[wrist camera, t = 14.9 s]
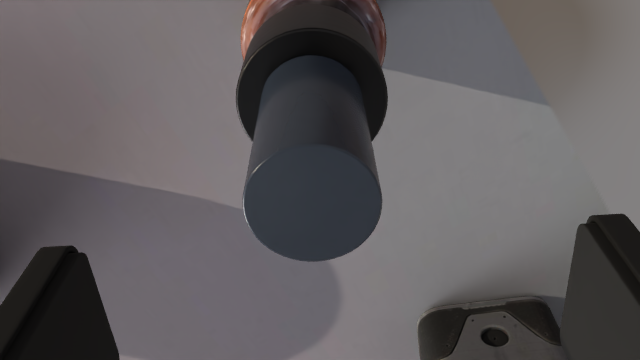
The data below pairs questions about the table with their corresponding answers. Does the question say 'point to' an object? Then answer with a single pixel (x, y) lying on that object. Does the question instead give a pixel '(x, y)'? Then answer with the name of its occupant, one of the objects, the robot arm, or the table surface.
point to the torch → (311, 132)
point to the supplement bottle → (355, 3)
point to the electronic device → (490, 331)
